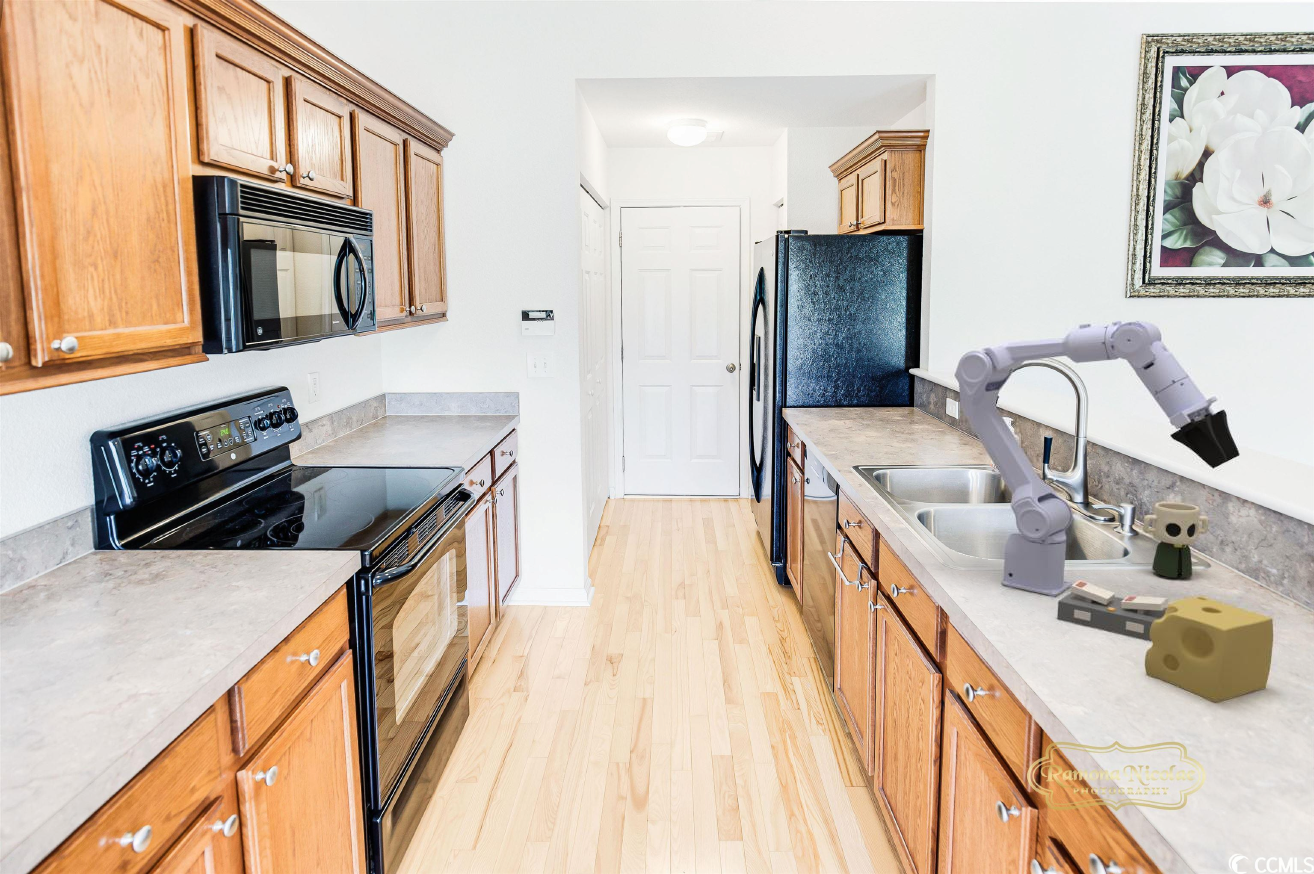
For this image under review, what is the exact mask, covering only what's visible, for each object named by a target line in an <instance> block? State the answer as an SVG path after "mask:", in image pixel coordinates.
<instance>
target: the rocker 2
mask: <svg viewBox="0 0 1314 874" xmlns="http://www.w3.org/2000/svg"><path fill="white" fill-rule="evenodd" d="M1123 599H1124V600H1123V601H1121V607H1122V608H1127V609H1144V610H1160V611H1161V610H1163V609H1164V608H1165V607H1166V608H1167V606H1168V604H1169V599H1168V597H1155V596H1136V595H1128V596H1126V597H1125V598H1123Z"/></svg>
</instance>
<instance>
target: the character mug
mask: <svg viewBox="0 0 1314 874" xmlns="http://www.w3.org/2000/svg"><path fill="white" fill-rule="evenodd" d="M1200 509H1201V508H1199V506H1197V505H1194V504H1190V503H1185V502H1184V503H1183V502H1178V501H1177V502H1175V501H1162V502H1156V503H1155V504H1154V506H1153V514H1147V515H1144V517H1143V526H1142V531H1143V533H1146V534H1152V537H1153V538H1154V539H1155V540H1157V541H1160V542H1159V543H1158V544H1157V545H1156V549H1155V553H1154V557H1153V560H1152V561H1153V562H1152V567H1151V568H1152V571H1153V572H1155V573H1156V574H1158V575H1161V576H1165V577H1168V578H1178V576H1180V577H1182V578H1190V577H1191V576H1192V575H1193V563H1192V551H1191V547H1190V546H1189V545H1190V544H1194V543H1196V541H1197V539H1198V538H1199V535H1200V534H1201V535H1203V534H1205V535H1206V534H1207V533H1208V531H1209V517H1208V516H1206V515H1200V513H1201V510H1200ZM1151 521H1152V527H1150V522H1151ZM1200 522H1201V528H1200Z"/></svg>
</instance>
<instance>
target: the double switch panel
mask: <svg viewBox="0 0 1314 874" xmlns="http://www.w3.org/2000/svg"><path fill="white" fill-rule="evenodd" d="M1124 599H1125V598H1124V597H1117V596H1114V599H1113V600H1112V601H1110V602H1109V603H1108V604H1106V605H1105V604H1103V603H1100V602H1097V601H1095V600H1092V599H1089V598H1087V597H1084V596H1081V595H1079V594H1076V593H1073V592H1071V591H1070V593H1068V594H1066V595H1065V596H1064V597H1062V598H1061V599H1059V600H1058V602H1057V620H1059V621H1064V622H1069V623H1072V624H1076V625H1077V624H1078V625H1080V626H1083V627H1084V626H1085V627H1090V628H1094V629H1098V630H1102V631H1106V632H1111V633H1115V634H1119V635H1124V636H1128V637H1132V638H1135V637H1136V639H1140V640H1144V641H1148V640H1149V641H1148V642H1152V640H1151V639H1150V628H1151V625H1152V623H1153V622H1154V621H1155V620H1159V619H1161V618H1162V617H1163V616H1164V615H1165V612H1166V609H1167V606H1166V607H1165V608H1164V609H1163V610H1161V611H1160V610H1144V609H1127V608H1122V607H1121V601H1123V600H1124Z"/></svg>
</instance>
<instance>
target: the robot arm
mask: <svg viewBox="0 0 1314 874" xmlns="http://www.w3.org/2000/svg"><path fill="white" fill-rule="evenodd" d="M1058 357H1067V358H1069V359H1070V360H1071V361H1072V362H1074V363H1076V364H1078V363H1090V362H1092V363H1093V362H1101V361H1102V362H1103V361H1112V360H1115V361H1116V360H1118V359H1119V358H1120V359H1122V360H1126V361H1127V363H1128V364H1129V365H1130V366H1131V368H1132V370H1133V371H1134V372H1135V375H1137V377H1138V378H1139V380H1140V381H1141V382H1142V384H1143V385H1144V387H1146V389H1147V391H1148V392H1149V394H1151V396H1152V397H1153V399H1154V400H1155V402H1156V403H1157V404H1158V406H1159V407H1160V408H1161V410H1162V411H1163V412H1164V414H1165V416H1166V417H1167V418H1168V419H1169V423H1170V424H1171V426H1174V427H1175V429H1176V430H1177V431H1175V432H1173V433H1171V434H1170V437H1171V439H1172V440H1174V441H1176V442H1178V443H1180V444H1182V445H1183V446H1185V447H1187V448H1188V449H1189V450H1190V451H1192V452H1193V453H1194V454H1196V456H1198V457H1199V458H1200V459H1201V460H1202V461H1203V462H1205V463H1206V465H1208V466H1209V467H1211V468H1212V469H1215V468H1217V467H1219V466H1221V465H1223V464H1226V463H1227V462H1229V461H1231V460H1233V459H1236V458H1238V457H1239V456H1240V452H1239V449H1238V447H1237V444H1236V442H1235V441H1234V437H1233V435H1232V434H1231V430H1230V427H1229V424H1228V415H1227V412H1226V410H1225V409H1221V410H1219V411H1217V412H1214V410H1213V409H1212V408H1211V406H1212V405H1213V403H1215V402H1217V401H1218V398H1217V397H1216V396H1212V397H1210V398H1208V399H1207V398H1206V397H1205V396H1204V394H1203V393H1202V392H1201V390H1200V389H1199V388H1198V386H1197V385H1196V384H1195V383H1194V381H1193V380H1192V378H1191V377H1190V376H1189V374H1188V373H1187V371H1185V369H1184V368H1183V367H1182V365H1181V364H1180V362H1179V361H1178V360H1177V358H1176V357H1175V356H1174V354H1173V353H1172V352H1170V350H1169V349H1168V348H1167V347H1166V345H1165V344H1164V343H1163V341H1162V333H1161V330H1160V329H1159V327H1158V326H1156V325H1155V324H1154V323H1152V322H1148V321H1144V320H1140V321H1139V320H1135V321H1128V322H1125V323H1123V322H1122V321H1121V320H1116V321H1115V320H1114V321H1112V323H1111V324H1104V325H1096V326H1095V325H1094V326H1091V323H1083V324H1079V326H1078V328H1076V327H1075V328H1073V329H1072V330H1070V331H1069V332H1068V334H1067V335H1066V336H1065V337H1061V338H1059V337H1058V338H1048V339H1047V338H1046V339H1036V340H1035V339H1034V340H1025V341H1022V340H1021V341H1012V342H1005V343H1001V344H997V345H992V346H987V347H985V348H984V347H983V348H982V349H981V350H971V351H968V352H965V354H963V355H962V357H960V359H959V361H958V364H957V367H956V370H955V372H954V378H955V379H956V380H957V382H958V389H959V399H960V400H959V401H960V408H961V410H962V413H963V414H964V416H965V417H966V419H967V422H968V423H969V425H970V427H971V428H972V429H973V431H974V433H975V435H976V436H977V438H978V440H979V441H980V443H981V444H982V447H983V448H984V449H985V451H986V453H987V454H988V456H989V458H990V460H991V461H992V463H993V464H994V466H995V468H996V469H997V471H998V473H999V474H1000V476H1001V479H1003V482H1004V483H1005V484H1006V486H1007V488H1008V489H1009V491H1010V492H1011V502H1010V508H1011V510H1012V511H1013V513H1014V516H1015V525H1016V528H1017V529H1018V532H1019V533H1014V532H1013V533H1012V534H1010V535H1009V536H1008V538H1007V540H1006V543H1005V548H1004V558H1003V559H1004V560H1003V564H1004V565H1003V581H1001V585H1003V586H1006V587H1011V588H1015V589H1020V590H1024V591H1028V592H1034V593H1038V594H1043V595H1048V596H1052V597H1057V596H1058V595H1059V594H1061V593H1062V592H1065V590H1067V589H1069V588H1071V586H1072V585H1073V583H1072V582H1070V581H1066V580H1064V578H1065V566H1066V565H1065V563H1066V548H1067V547H1066V546H1067V536H1066V529H1067V528H1069V527H1070V525H1071V524H1072V522H1073V518H1074V517H1073V516H1074V512H1073V509H1072V507H1071V506H1070V504H1069V502H1067V500H1065V499H1064V498H1062V497H1060V496H1059V495H1058V493H1057V492H1056V491H1055V489H1054V488H1053V487H1052V486H1051V485H1049V484H1048V483H1046V482H1044V481H1043V480H1042V479H1041V478H1040V476H1039V474H1038V473H1037V471H1036V469H1035V468H1034V467H1033V465H1032V463H1031V462H1030V460H1029V458H1028V456H1027V455H1026V453H1025V452H1024V450H1023V448H1022V447H1021V446H1020V444H1019V442H1018V440H1017V439H1016V437H1015V436H1014V434H1013V432H1012V431H1011V429H1010V427H1009V425H1008V424H1007V422H1006V421H1005V419H1004V417H1003V416H1002V414H1001V412H1000V411H999V409H998V408H997V406H996V402H997V399H998V397H999V395H1000V394H999V393H1000V391H1001V390H1002V388H1003V387H1004V386H1005V384H1006V383H1007V382H1008V381H1009V379H1010V377H1011V376H1012V374H1013V372H1014V369H1019V367H1021V366H1022V365H1023V363H1024V362H1025V361H1031V360H1041V359H1042V360H1043V359H1050V358H1058Z"/></svg>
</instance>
